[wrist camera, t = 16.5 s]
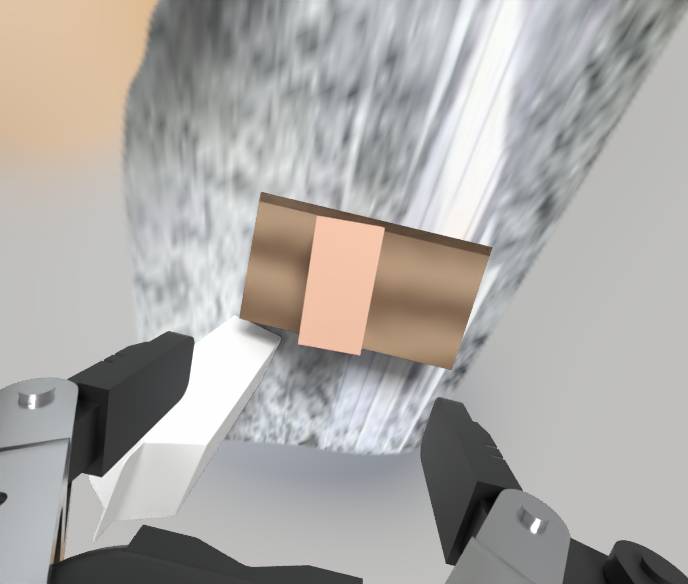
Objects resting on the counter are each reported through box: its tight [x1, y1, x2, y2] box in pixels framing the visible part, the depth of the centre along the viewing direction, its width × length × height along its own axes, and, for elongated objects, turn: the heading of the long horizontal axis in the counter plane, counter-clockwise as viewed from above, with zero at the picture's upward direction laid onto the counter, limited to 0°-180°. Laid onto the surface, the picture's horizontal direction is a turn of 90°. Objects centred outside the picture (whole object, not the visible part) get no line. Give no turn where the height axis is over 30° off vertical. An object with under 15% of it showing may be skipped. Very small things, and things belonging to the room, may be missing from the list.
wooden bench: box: [239, 192, 492, 370], centre depth 33 cm, size 12×21×6 cm, turn 77°
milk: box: [89, 315, 281, 543], centre depth 28 cm, size 6×6×22 cm
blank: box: [298, 216, 385, 355], centre depth 28 cm, size 10×5×5 cm, turn 170°
